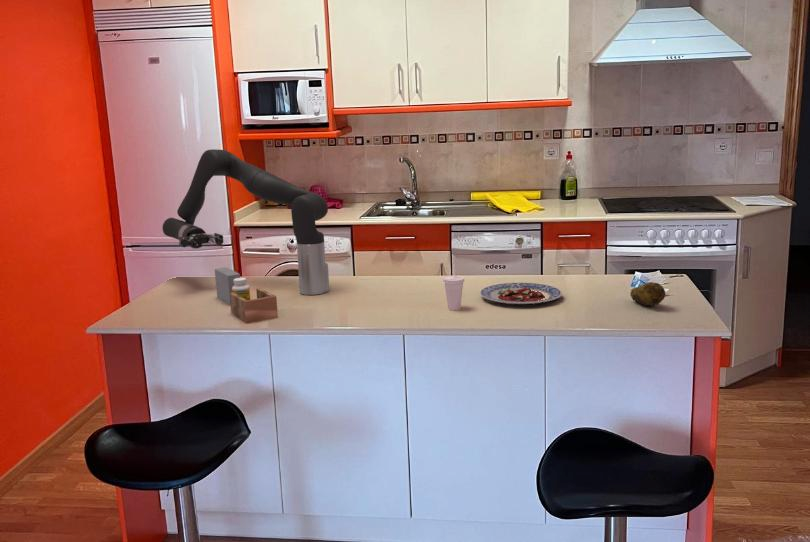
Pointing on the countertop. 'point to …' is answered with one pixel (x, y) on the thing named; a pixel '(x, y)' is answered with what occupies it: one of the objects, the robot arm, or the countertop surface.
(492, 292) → the ceramic plate
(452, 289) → the smoothie
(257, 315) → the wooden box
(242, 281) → the supplement bottle
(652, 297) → the potato
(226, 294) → the grey rectangular box
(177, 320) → the countertop surface
